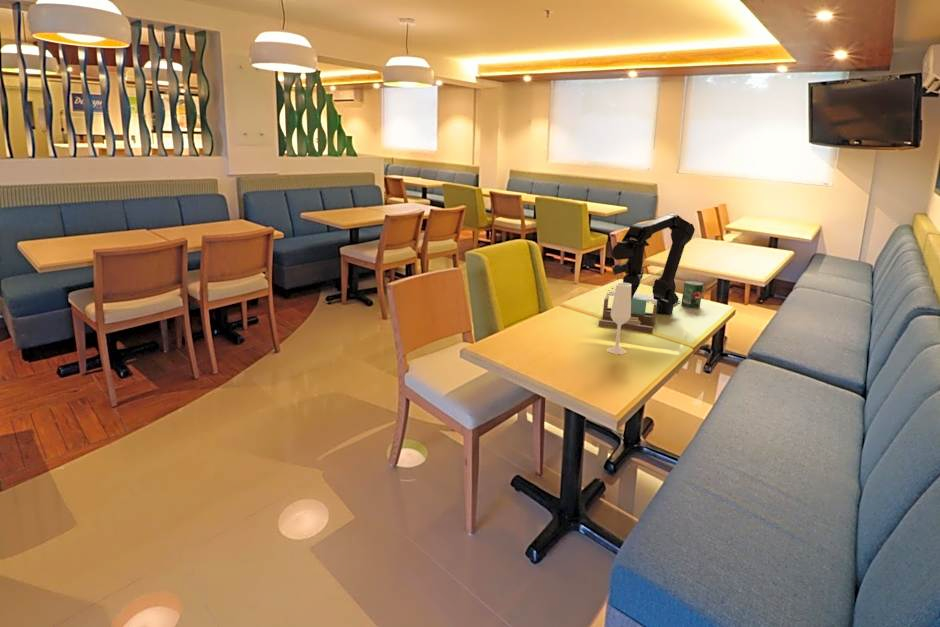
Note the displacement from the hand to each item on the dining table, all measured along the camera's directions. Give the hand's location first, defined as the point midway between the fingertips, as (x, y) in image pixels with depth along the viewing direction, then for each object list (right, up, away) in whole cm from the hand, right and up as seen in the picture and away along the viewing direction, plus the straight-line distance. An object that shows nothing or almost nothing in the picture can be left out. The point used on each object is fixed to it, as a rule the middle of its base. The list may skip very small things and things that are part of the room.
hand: (631, 295), depth 215 cm
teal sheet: (0, -9, +3) cm, 10 cm away
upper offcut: (-3, -10, -5) cm, 12 cm away
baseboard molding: (+17, -1, +38) cm, 41 cm away
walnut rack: (-2, -12, 0) cm, 12 cm away
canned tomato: (+35, -4, +27) cm, 44 cm away
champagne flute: (-13, -20, -27) cm, 37 cm away
